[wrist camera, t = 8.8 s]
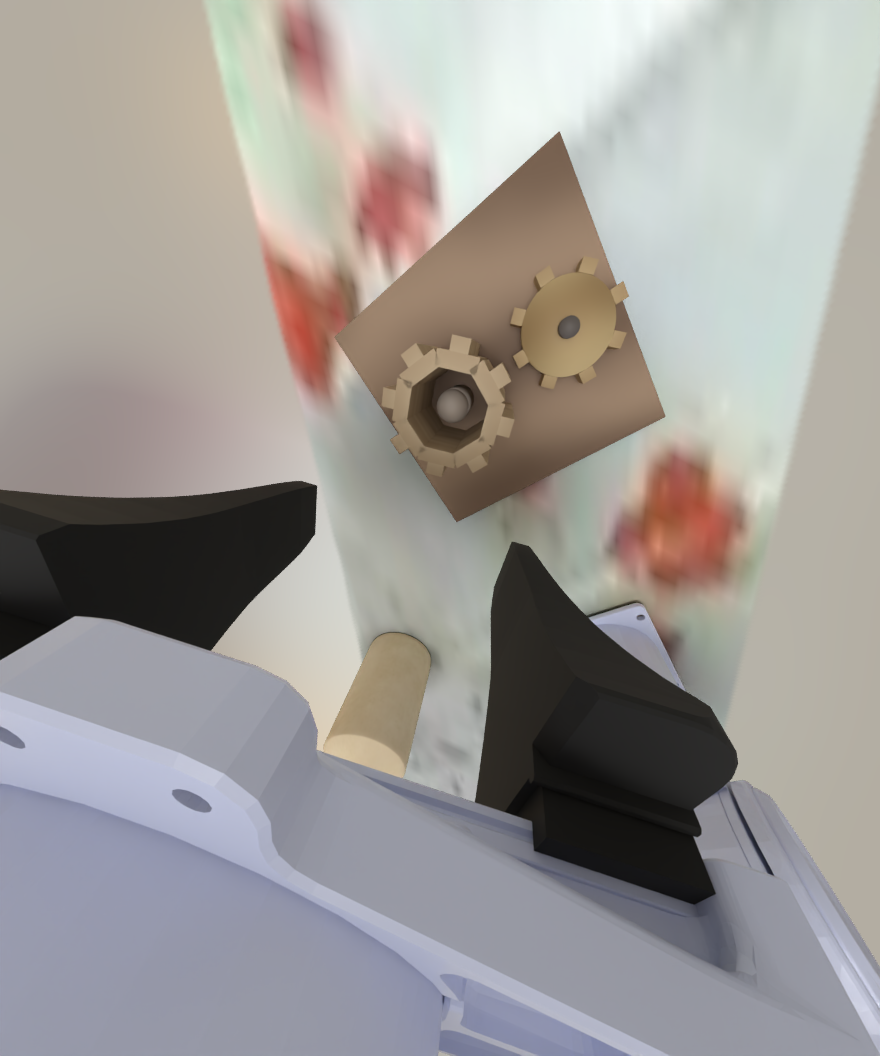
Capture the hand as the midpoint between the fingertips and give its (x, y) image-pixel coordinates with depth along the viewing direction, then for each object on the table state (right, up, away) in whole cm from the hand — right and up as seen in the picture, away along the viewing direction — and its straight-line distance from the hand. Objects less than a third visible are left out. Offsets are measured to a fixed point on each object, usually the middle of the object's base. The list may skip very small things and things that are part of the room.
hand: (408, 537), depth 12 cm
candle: (-2, -11, +17) cm, 20 cm away
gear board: (+4, +8, +5) cm, 11 cm away
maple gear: (+2, +7, +5) cm, 9 cm away
